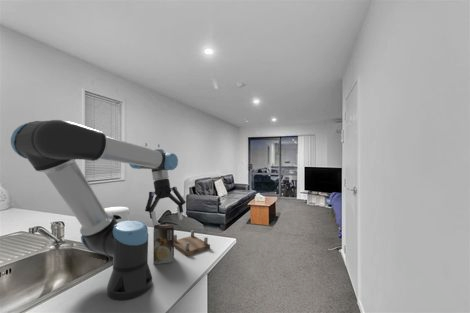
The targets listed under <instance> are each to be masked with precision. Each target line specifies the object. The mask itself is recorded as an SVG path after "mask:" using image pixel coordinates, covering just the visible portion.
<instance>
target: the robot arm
mask: <svg viewBox="0 0 470 313" xmlns="http://www.w3.org/2000/svg"><path fill="white" fill-rule="evenodd" d="M10 145H11V147H12V150H13V151H14V152H15V153H16V154H17V155H18V156H20V157H22V158H24V159H26V160H27V161H28V162H29V163H30V164H31V166H32V167H33V169H34V170H35V172H39V173H43V174H45V175H46V176H47V178H48V179H49V181H50V182H51V183H52V185H53V186H54V188H55V189H56V191H57V193H58V194H59V195H60V197H61V198H62V200H63V201H64V202H65V204H66V205H67V207H68V208H69V209H70V211H71V212H72V213H73V215H74V217H75V218H76V220H77V221H78V223H79V224H80V225H81V227H80V229H79V233H80V234H81V236H80V242H81V244H82V245H83V247H84V248H85V249H87V250H89V251H90V252H94V253H99V254H101V255H106V256H109V257H112V271H111V274H110V277H109V280H108V283H107V286H106V294H107V297H109V298H110V299H112V300H116V301H122V300H123V301H124V300H125V301H126V300H131V299H134V298H137V297H139V296H141V295H143V294H145V293H146V292H147V291H149V290H150V289H151V287H152V285H153V274H152V272H151V269H150V266H149V262H148V256H149V255H148V254H149V252H148V251H149V233H148V232H149V230H148V226H147V224H145V223H144V222H142V221H138V220H129V221H123V222H119V223H118V222H117V221H116V219H115V218H114V216H113V214H112V213H110V212H105V210H104V207H103V205H102V203H101V202H100V200H99V199H98V197H97V194H95V191H94V190H93V188H92V187H91V184H90V183H89V182H88V180H87V179H86V177H85V174H83V171H82V170H81V169H80V167H79V165H78V164H77V162H76V160H84V161H92V162H95V161H98V160H105V161H112V162H116V163H123V164H127V165H129V166H130V167H131V168H132V169H135V170H136V169H137V170H140V169H141V170H143V169H145V170H151V173H152V174H151V175H152V180H153V188H154V191H149V192H148V199H147V202H146V206H145V209H144V211H145V212H147V213H149V219H151V222H152V226H154V225H158V222H157V216H156V210H155V208H156V207H157V205H158V203H159V201H160V200H162V199H165V198H166V199H167V198H169V199H170V200H172V201H173V202H174V203H175V204H176V205H177V206H176V208H177V215H178V216H177V217H178V221H182V220H183V212H184V208H183V205H184V204H186V200H185V199H184V198H183V196H182V194H180V193H181V192H179V190H178V187H177V186H173V187H171V183H170V179H169V172H168V171H174V170H175V169H177V167H178V164H179V159H178V156H177V155H176V154H175V153H171V152H165V150H164V149H163V148H156V149H155V148H154V149H153V148H149V147H146V146H143V145H137V144H135V143H131V142H127V141H123V140H121V139H116V138H113V137H110V136H107V135H106V133H104V132H103V131H101V130H97V129H93V128H91V127H88V126H86V125H82V124H78V123H76V122H72V121H67V120H62V119H51V120H35V121H29V122H27V123H26V122H25V123H23V124H21V125H19V126H17V127H16V129H15V130H13V131H12V134H11V137H10ZM171 192H173V193H174V195H173V194H172V193H171ZM154 196H155V197H154ZM176 197H177V198H176ZM153 199H154V200H153Z"/></svg>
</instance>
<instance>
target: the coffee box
mask: <svg viewBox="0 0 470 313" xmlns="http://www.w3.org/2000/svg"><path fill="white" fill-rule="evenodd" d="M174 235H175V224H174V223H167V224H165V223H162V224H156V225H153V248H152V249H153V253H152V254H153V259H152V260H153V264H152V265H160V264H166V263H175V248H174Z"/></svg>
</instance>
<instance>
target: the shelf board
mask: <svg viewBox="0 0 470 313" xmlns="http://www.w3.org/2000/svg"><path fill="white" fill-rule="evenodd" d="M203 239H204V240H203ZM203 239H200V238H199V237H197V236H195V230H190V236H186V237H183V238H178V234H174V247H175V248H174V249H176V250H177V251H178V250H179V251H178V252H180V253H181V254H182V255H183V256H185V257H188V256H191V255H195V254H197V253H201V252H204V251H207V250H210V249H211V244H209V243H208V239H209V238H208V237H204V238H203Z"/></svg>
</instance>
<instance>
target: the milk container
mask: <svg viewBox="0 0 470 313" xmlns="http://www.w3.org/2000/svg"><path fill="white" fill-rule="evenodd" d="M103 208H104V207H103ZM104 210H105V212H110V213H112V214H113V216H114V218H115V219H116V221H117V222H118V223H119V222H123V221H130V209H129V207H128V206H110V207H105V208H104Z"/></svg>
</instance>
